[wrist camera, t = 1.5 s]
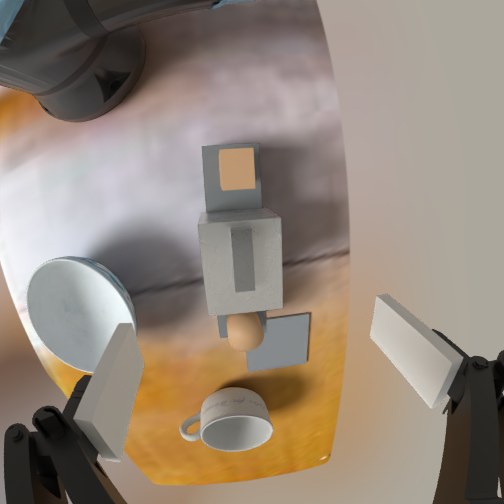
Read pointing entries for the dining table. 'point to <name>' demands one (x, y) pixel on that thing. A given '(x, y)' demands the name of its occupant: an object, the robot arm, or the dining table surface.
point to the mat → (281, 343)
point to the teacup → (231, 420)
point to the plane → (235, 198)
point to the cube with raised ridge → (241, 260)
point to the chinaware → (77, 309)
